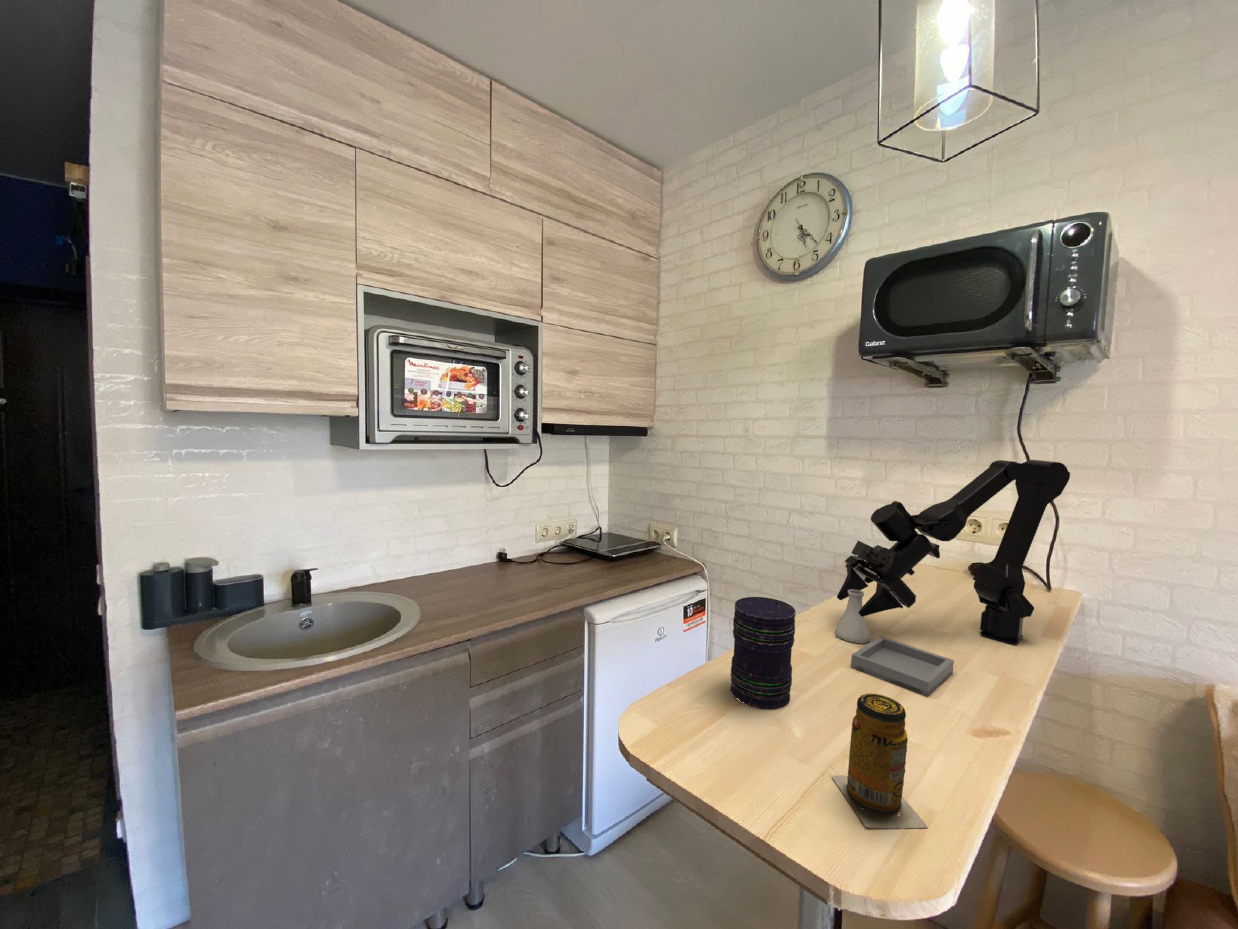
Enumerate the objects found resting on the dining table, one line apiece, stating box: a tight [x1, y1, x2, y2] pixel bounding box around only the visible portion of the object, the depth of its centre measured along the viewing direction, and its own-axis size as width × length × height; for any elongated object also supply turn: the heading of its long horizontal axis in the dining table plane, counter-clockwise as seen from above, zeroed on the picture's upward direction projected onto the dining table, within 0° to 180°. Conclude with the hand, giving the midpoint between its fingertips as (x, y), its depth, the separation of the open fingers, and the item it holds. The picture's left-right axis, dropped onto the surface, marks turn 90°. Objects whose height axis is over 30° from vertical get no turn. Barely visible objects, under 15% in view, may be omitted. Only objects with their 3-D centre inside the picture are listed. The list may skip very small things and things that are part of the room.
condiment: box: [831, 692, 928, 830], centre depth 62 cm, size 7×8×12 cm
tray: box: [850, 636, 955, 698], centre depth 95 cm, size 13×13×2 cm
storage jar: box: [730, 596, 796, 711], centre depth 85 cm, size 10×10×15 cm
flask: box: [834, 589, 872, 645], centre depth 109 cm, size 7×7×10 cm
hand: (848, 606), depth 109 cm, fingers open, 9 cm apart
